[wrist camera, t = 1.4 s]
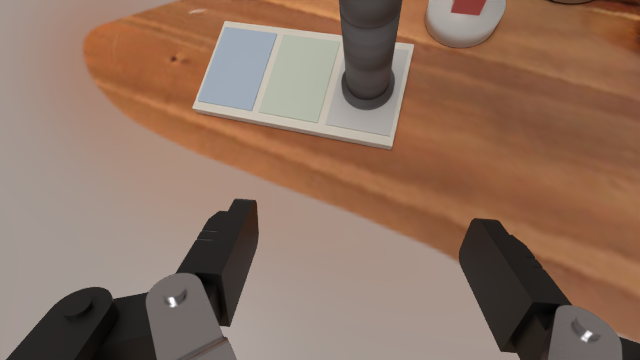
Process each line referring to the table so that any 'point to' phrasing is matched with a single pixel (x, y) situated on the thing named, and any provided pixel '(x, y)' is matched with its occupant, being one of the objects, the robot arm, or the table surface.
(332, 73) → the game board
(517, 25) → the table surface
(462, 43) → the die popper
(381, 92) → the charcoal pawn
